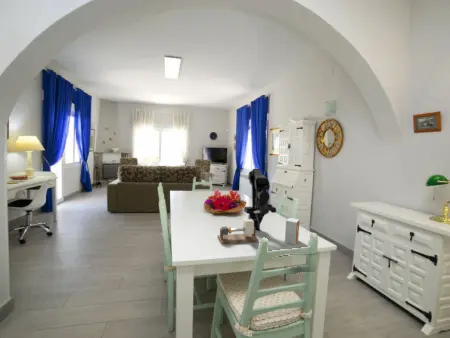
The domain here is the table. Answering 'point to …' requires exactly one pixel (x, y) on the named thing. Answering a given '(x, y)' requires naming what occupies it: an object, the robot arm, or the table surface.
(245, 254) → the table surface
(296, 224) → the small box
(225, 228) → the rod stand
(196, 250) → the table surface
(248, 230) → the sleeve
